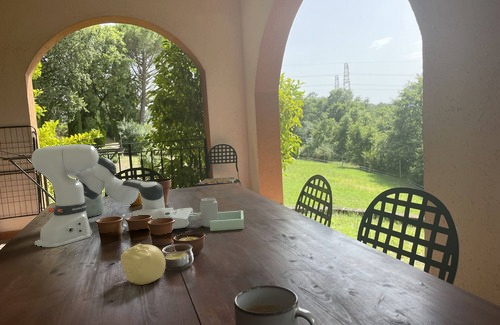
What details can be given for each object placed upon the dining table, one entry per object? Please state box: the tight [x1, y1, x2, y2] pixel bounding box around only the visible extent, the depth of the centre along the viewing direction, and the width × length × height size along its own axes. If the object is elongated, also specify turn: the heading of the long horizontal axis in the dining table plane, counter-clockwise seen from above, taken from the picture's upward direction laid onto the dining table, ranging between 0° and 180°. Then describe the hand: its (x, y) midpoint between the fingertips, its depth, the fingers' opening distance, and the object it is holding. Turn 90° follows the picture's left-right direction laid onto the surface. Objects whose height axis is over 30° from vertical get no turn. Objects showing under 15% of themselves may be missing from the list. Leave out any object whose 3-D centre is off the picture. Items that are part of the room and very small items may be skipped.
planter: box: [85, 192, 105, 218], centre depth 207 cm, size 12×12×11 cm
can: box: [199, 197, 219, 228], centre depth 170 cm, size 8×8×12 cm
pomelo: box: [120, 243, 167, 286], centre depth 114 cm, size 12×12×11 cm
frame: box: [209, 210, 245, 232], centre depth 170 cm, size 14×16×4 cm
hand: (200, 216), depth 171 cm, fingers closed
